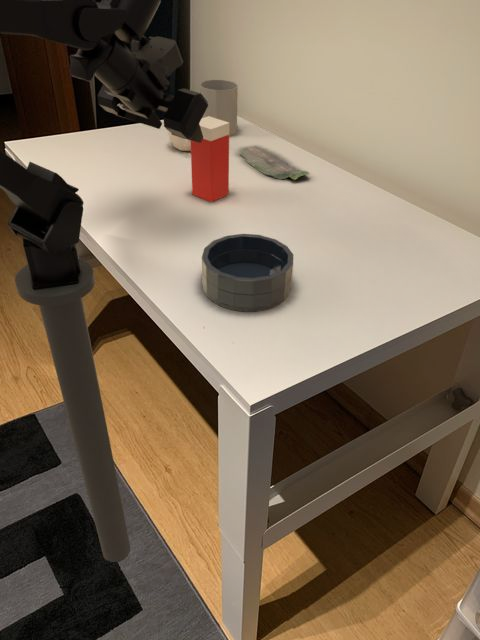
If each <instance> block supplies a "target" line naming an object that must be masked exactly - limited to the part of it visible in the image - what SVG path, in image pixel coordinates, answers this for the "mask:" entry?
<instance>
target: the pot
mask: <svg viewBox="0 0 480 640" xmlns="http://www.w3.org/2000/svg"><path fill="white" fill-rule="evenodd" d="M202 251H203V252H202V255H201V282H202V289H203V291H204V293H205V295H206V297H207V298H208V299H209V300H210V301H211V302H213V303H214V304H216V305H217V306H220V307H222V308H224V309H227V310H231V311H237V312H247V313H249V312H251V313H252V312H262V311H266V310H270V309H274V308H276V307H278V306H279V305H281V304H283V302H285V301H286V300H287V299H288V297H289V296H290V293H291V290H292V283H293V270H294V253H293V252H292V251H291V249H290V248H289V246H287V245H286V244H284V243H283V242H281V241H279V240H277V239H275V238H272V237H269V236H266V235H263V234H253V233H239V234H238V233H237V234H230V235H225V236H222V237H220V238H217V239H214V240H212V241H211V242H210V243H209V244H208V245H206V246H205V247H204V249H203V250H202Z"/></svg>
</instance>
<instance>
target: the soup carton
mask: <svg viewBox="0 0 480 640" xmlns="http://www.w3.org/2000/svg"><path fill="white" fill-rule="evenodd" d="M199 124H200V127H201V131H202V134H203V140H202V141H201V143H198V142H194V141H191V151H190V161H191V162H190V163H191V165H190V166H191V168H190V169H191V193H192V195H193V196H195V197H198V198H200V199H203V200H206V201H207V202H211V203H214V202H216V201H217V200H219V199H221V198H224V197H225V196H228V195H229V193H230V192H229V190H230V187H229V186H230V136H229V122H226V121H222V120H219V119H216V118H213V117H210V116H208V117H205V118H202V119H201V121H200V123H199Z"/></svg>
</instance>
